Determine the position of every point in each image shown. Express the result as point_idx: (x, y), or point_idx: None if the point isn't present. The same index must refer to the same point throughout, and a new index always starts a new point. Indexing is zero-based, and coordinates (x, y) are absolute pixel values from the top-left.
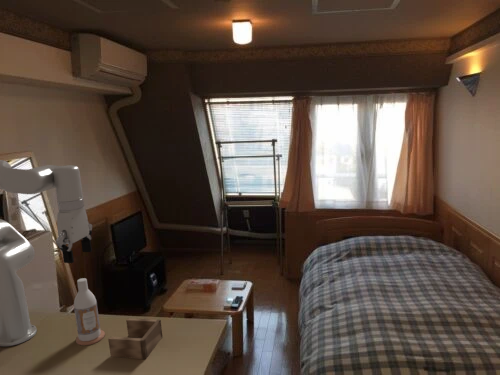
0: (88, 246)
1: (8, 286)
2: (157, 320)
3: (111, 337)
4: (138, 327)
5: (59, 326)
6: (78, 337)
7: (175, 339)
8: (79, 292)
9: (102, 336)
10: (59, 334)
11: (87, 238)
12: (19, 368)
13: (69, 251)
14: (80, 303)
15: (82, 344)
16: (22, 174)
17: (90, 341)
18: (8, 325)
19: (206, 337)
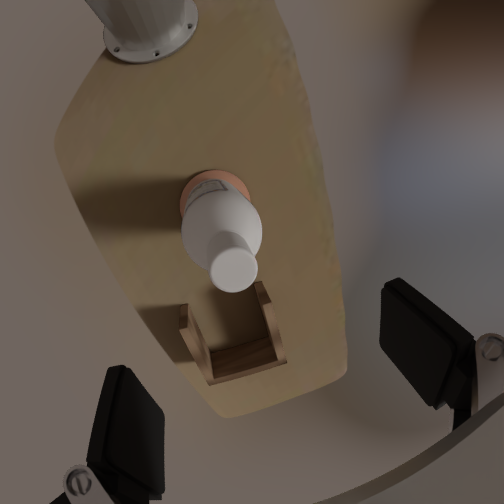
0: (405, 367)
1: None
2: (283, 360)
3: (186, 332)
4: (265, 319)
5: (227, 75)
6: (198, 180)
7: None
8: (205, 249)
9: None
10: (196, 110)
11: (453, 413)
12: (65, 163)
13: (138, 488)
14: (188, 254)
15: (181, 215)
16: None
17: None
18: (107, 28)
19: (295, 387)
